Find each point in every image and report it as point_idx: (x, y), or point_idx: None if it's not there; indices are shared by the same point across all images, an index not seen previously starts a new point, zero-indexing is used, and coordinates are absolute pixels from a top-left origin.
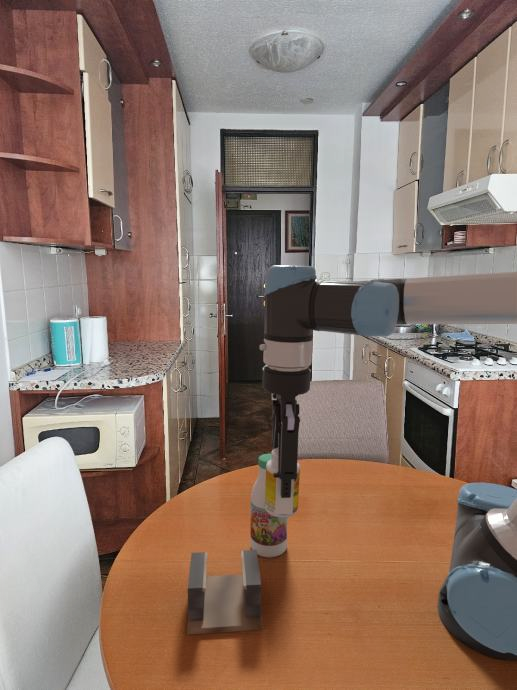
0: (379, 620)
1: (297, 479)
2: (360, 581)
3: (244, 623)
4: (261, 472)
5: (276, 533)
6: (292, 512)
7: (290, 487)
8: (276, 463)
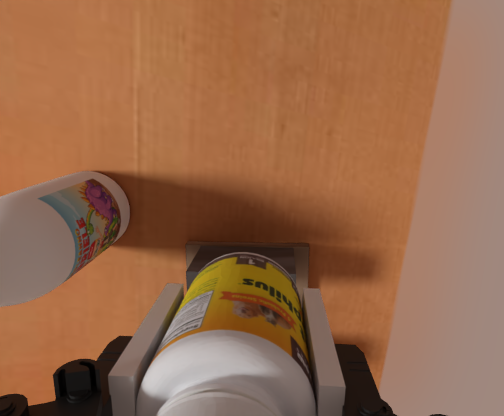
0: (310, 25)
1: (282, 329)
2: (203, 31)
3: (304, 274)
4: None
5: (105, 211)
6: (319, 292)
7: (373, 380)
8: None
